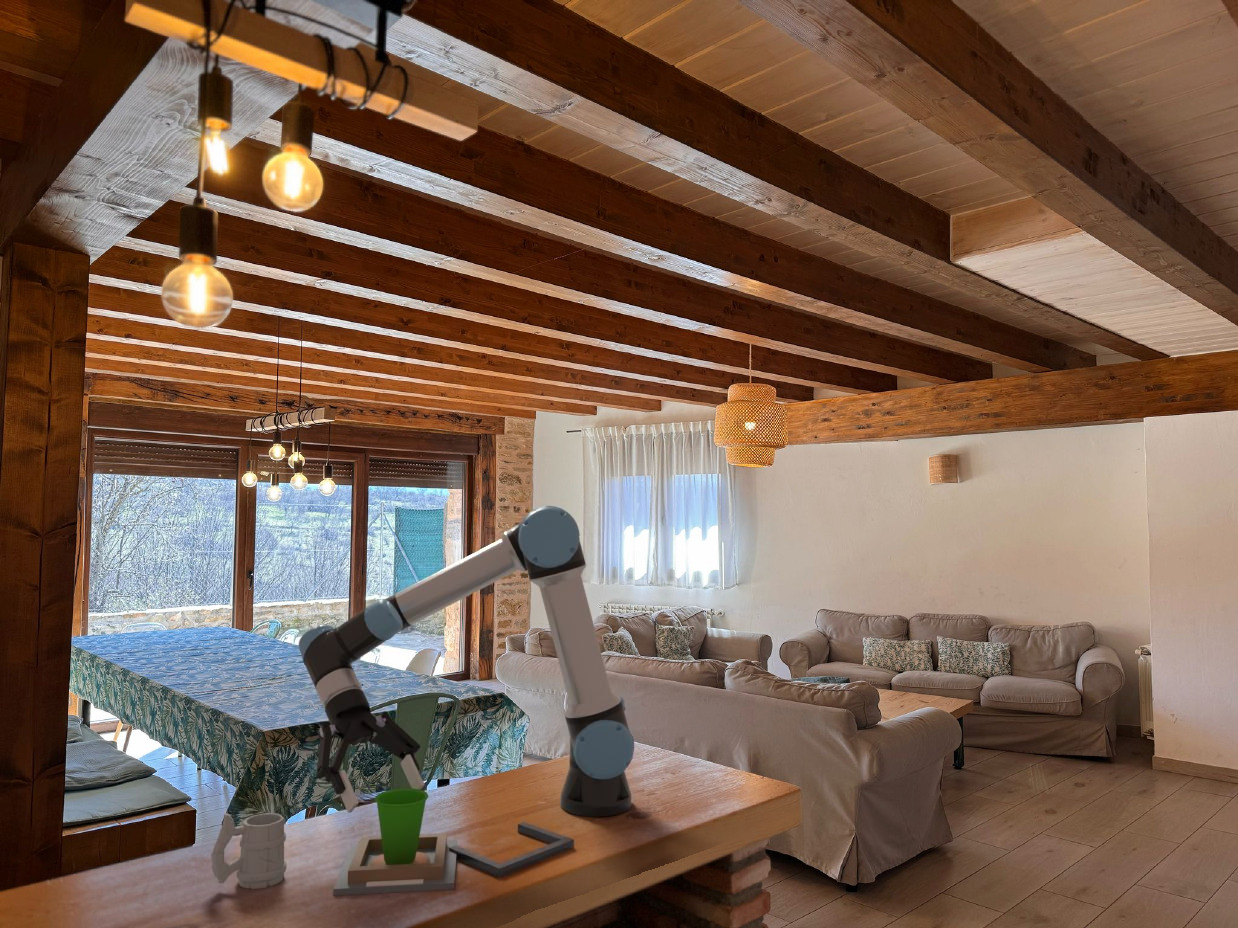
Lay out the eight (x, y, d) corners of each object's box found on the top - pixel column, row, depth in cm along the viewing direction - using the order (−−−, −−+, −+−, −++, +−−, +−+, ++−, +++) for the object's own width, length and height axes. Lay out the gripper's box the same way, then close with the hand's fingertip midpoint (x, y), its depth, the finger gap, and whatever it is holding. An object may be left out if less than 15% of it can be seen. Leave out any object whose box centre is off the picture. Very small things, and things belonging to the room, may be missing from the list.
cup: (412, 874, 142) (414, 806, 143) (362, 868, 144) (365, 802, 145) (435, 853, 151) (436, 790, 152) (387, 849, 153) (389, 786, 154)
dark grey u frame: (573, 847, 158) (574, 839, 158) (499, 877, 144) (499, 868, 144) (523, 829, 167) (523, 821, 167) (448, 855, 153) (449, 847, 153)
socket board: (457, 845, 158) (457, 828, 158) (453, 889, 139) (454, 870, 140) (351, 850, 155) (351, 833, 155) (333, 895, 137) (333, 875, 137)
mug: (293, 881, 142) (295, 807, 142) (217, 901, 134) (220, 822, 135) (277, 866, 147) (280, 795, 148) (203, 884, 140) (206, 809, 141)
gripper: (391, 701, 172) (435, 793, 161) (272, 722, 153) (313, 828, 142) (407, 677, 169) (454, 770, 158) (288, 696, 150) (332, 803, 139)
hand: (387, 798), depth 150 cm, fingers open, 13 cm apart
